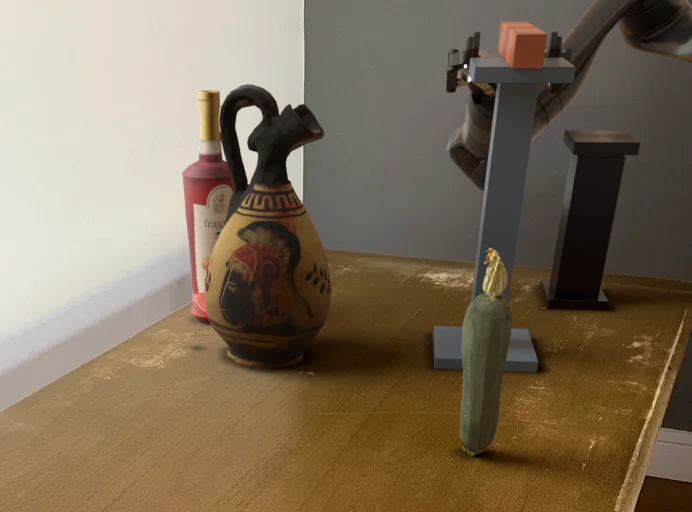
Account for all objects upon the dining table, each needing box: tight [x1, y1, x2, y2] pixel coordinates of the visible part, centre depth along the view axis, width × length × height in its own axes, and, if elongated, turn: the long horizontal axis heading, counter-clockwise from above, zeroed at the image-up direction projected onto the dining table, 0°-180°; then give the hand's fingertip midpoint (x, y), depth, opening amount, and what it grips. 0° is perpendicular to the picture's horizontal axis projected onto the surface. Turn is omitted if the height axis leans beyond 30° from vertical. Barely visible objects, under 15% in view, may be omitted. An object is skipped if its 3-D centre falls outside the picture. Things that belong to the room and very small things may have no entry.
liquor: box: [181, 89, 233, 324], centre depth 125 cm, size 7×7×28 cm
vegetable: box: [459, 248, 513, 457], centre depth 90 cm, size 4×4×20 cm
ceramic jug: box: [204, 83, 333, 370], centre depth 112 cm, size 17×15×30 cm
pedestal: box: [539, 129, 641, 312], centre depth 131 cm, size 10×8×22 cm
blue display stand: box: [432, 57, 576, 373], centre depth 111 cm, size 12×12×32 cm
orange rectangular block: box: [497, 21, 548, 69], centre depth 103 cm, size 20×3×3 cm, turn 172°
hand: (515, 40), depth 108 cm, fingers open, 8 cm apart
